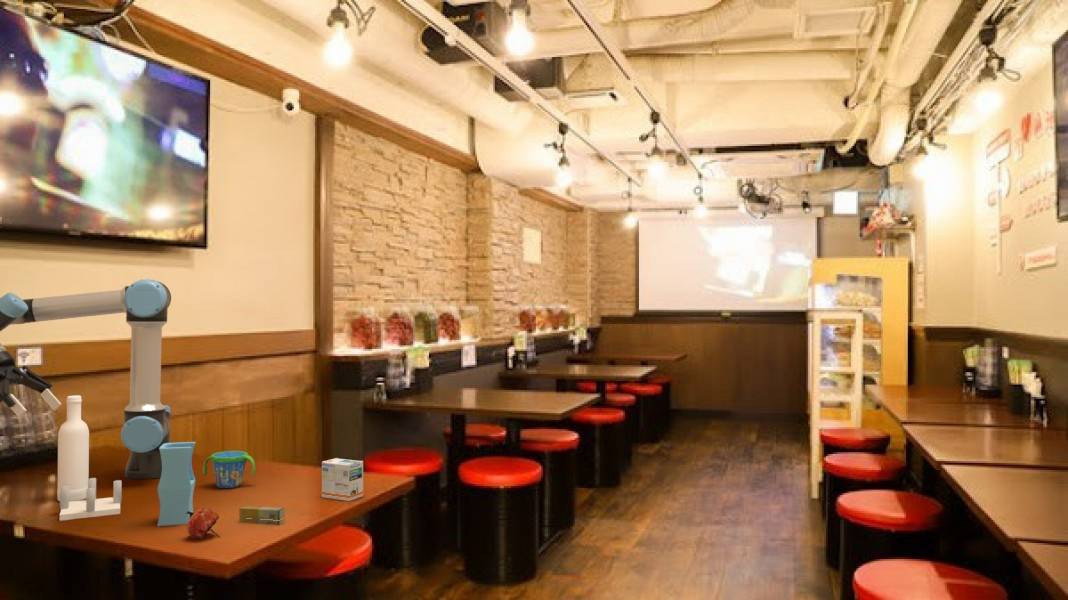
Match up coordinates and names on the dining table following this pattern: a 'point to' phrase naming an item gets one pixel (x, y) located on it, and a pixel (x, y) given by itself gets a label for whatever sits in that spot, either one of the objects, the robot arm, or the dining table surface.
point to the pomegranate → (201, 522)
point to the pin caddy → (90, 502)
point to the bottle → (73, 452)
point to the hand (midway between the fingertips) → (40, 410)
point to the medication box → (261, 515)
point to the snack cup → (229, 468)
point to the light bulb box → (342, 478)
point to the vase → (176, 483)
